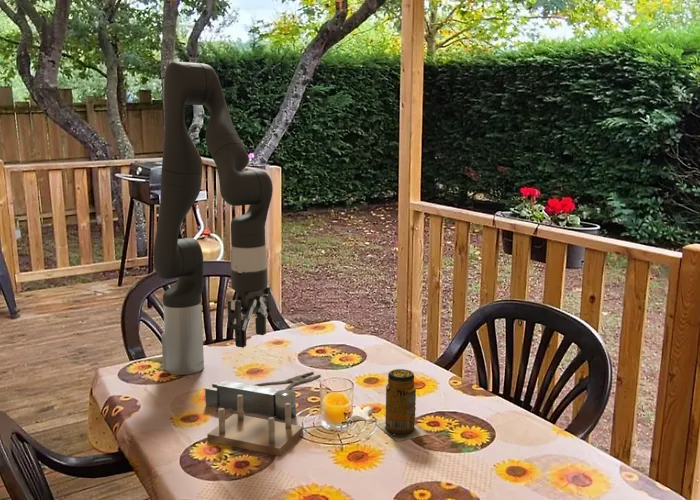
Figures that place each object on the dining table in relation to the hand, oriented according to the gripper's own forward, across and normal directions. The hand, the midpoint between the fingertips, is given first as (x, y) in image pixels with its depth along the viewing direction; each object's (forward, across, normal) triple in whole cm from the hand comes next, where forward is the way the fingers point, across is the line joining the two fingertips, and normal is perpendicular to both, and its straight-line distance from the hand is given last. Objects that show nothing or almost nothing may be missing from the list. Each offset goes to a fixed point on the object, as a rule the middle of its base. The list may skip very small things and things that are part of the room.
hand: (251, 340), depth 145 cm
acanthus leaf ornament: (+17, -6, +22) cm, 28 cm away
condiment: (+16, -3, +33) cm, 37 cm away
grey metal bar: (+16, 0, -1) cm, 16 cm away
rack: (+16, +11, +7) cm, 21 cm away
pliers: (+16, -15, -1) cm, 22 cm away
